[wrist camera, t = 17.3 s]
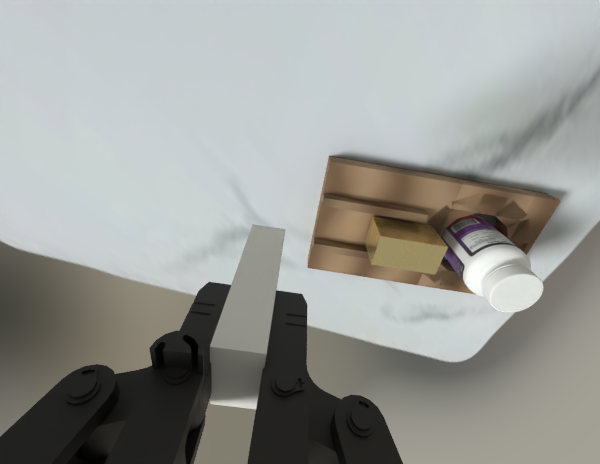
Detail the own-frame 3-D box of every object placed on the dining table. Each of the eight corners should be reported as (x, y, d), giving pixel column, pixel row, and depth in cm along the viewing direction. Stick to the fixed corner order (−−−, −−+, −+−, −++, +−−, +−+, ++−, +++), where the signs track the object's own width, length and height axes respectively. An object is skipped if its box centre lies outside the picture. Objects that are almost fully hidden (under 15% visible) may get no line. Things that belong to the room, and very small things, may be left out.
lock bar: (364, 242, 30) (371, 264, 26) (372, 216, 29) (380, 236, 25) (421, 251, 30) (435, 274, 27) (432, 226, 29) (448, 247, 25)
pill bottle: (471, 261, 33) (525, 325, 25) (427, 249, 33) (467, 310, 24) (499, 220, 31) (570, 276, 22) (452, 206, 30) (506, 259, 22)
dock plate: (307, 257, 34) (307, 274, 31) (329, 156, 28) (330, 165, 25) (489, 286, 35) (504, 305, 32) (545, 193, 29) (570, 206, 26)
